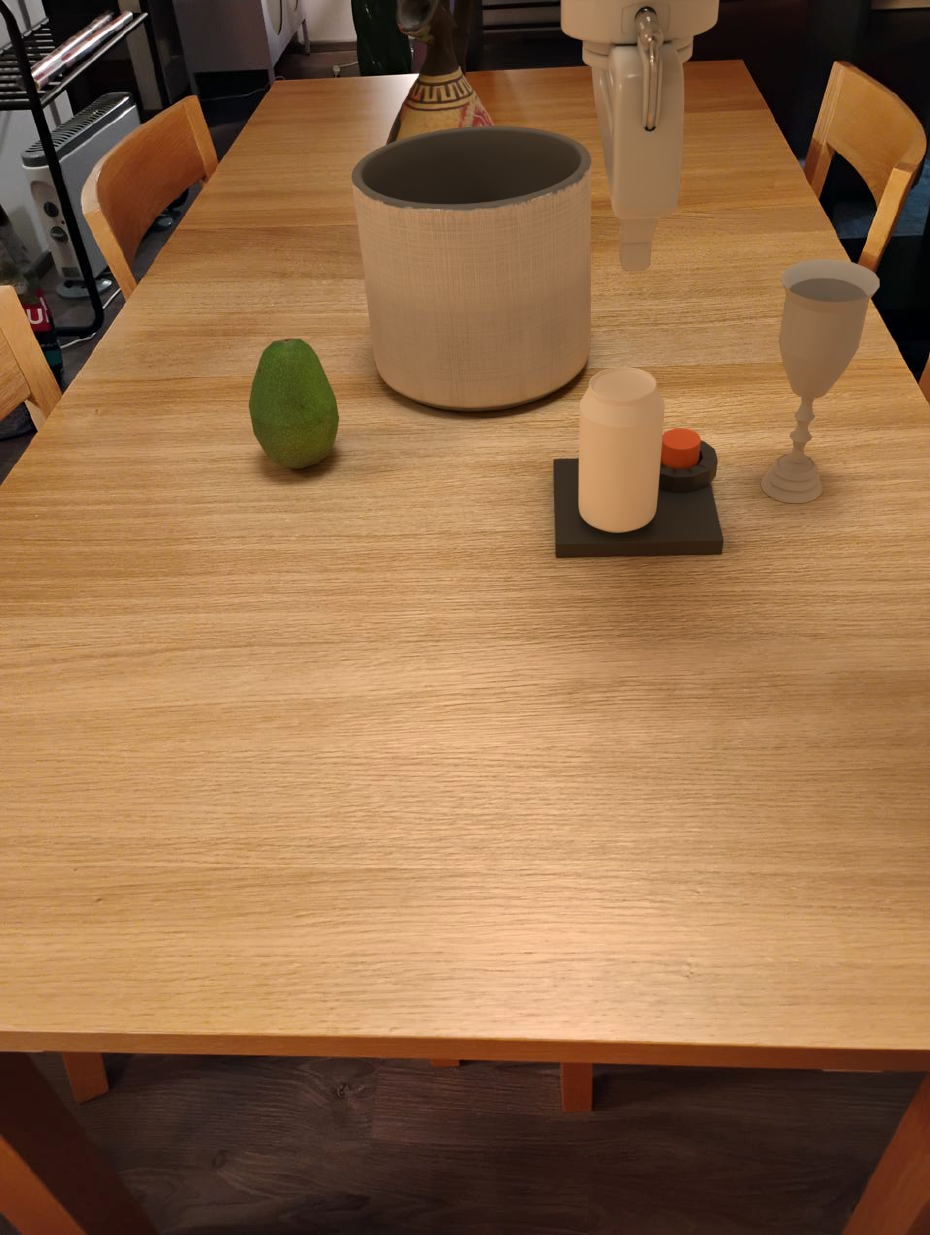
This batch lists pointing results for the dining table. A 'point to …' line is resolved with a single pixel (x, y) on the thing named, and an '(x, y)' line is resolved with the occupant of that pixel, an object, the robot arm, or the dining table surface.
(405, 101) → the ceramic jug
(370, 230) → the planter
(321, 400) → the avocado
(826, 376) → the chalice
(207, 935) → the dining table surface
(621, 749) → the dining table surface
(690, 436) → the button
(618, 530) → the beverage can
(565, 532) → the scale
